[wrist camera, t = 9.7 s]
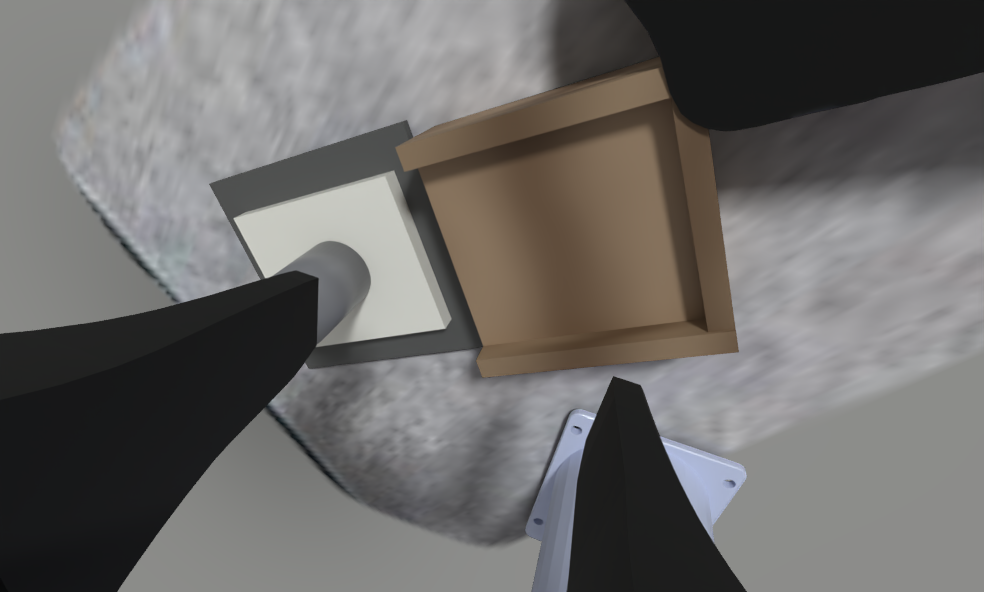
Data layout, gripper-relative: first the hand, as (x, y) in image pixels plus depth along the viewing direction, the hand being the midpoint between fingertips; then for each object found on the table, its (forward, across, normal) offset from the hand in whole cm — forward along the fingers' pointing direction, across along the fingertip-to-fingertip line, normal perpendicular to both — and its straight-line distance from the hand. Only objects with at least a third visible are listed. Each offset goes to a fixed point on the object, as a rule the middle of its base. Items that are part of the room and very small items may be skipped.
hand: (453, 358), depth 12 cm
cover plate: (+9, +7, +4) cm, 12 cm away
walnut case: (+9, -2, -1) cm, 10 cm away
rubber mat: (+9, +7, +4) cm, 13 cm away
